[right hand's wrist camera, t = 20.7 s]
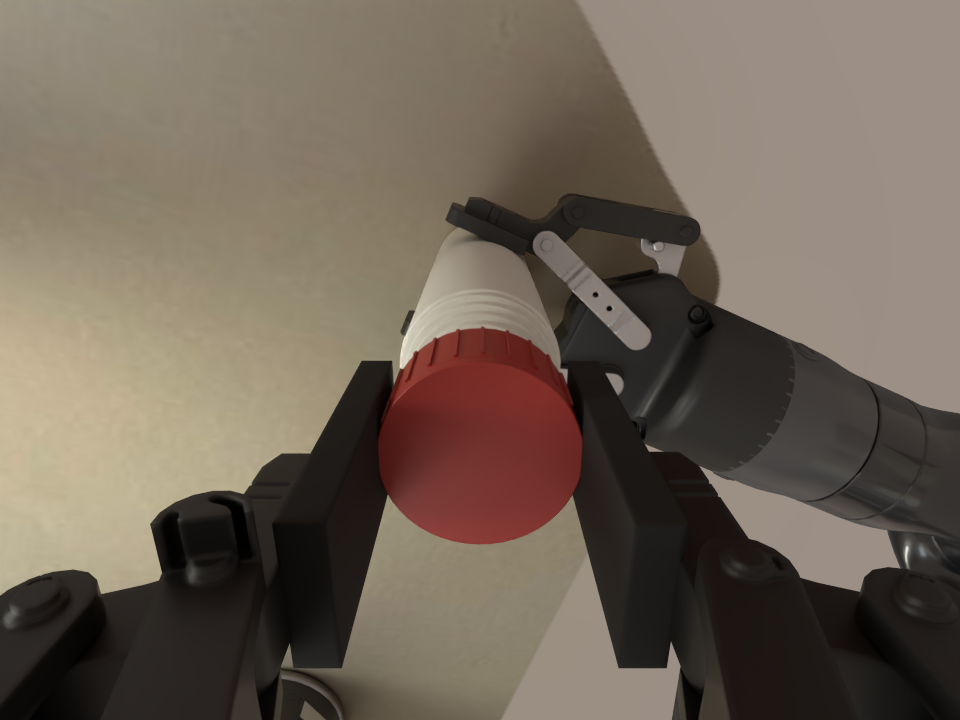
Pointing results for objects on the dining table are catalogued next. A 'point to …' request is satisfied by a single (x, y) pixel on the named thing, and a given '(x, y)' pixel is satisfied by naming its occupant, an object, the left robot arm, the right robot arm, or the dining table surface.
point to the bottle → (479, 296)
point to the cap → (480, 438)
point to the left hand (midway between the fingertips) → (428, 268)
